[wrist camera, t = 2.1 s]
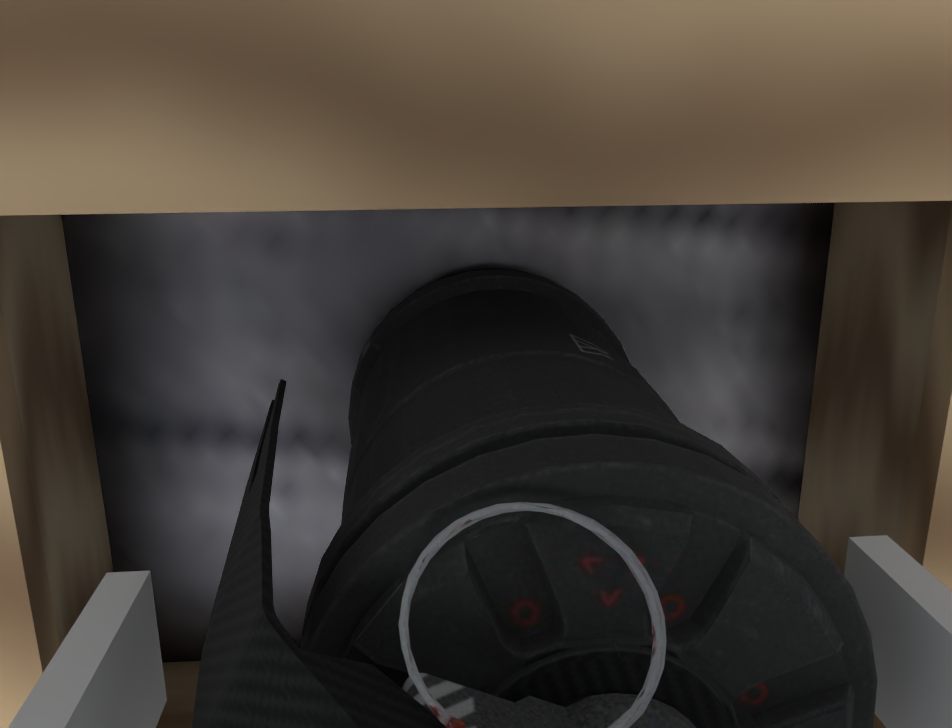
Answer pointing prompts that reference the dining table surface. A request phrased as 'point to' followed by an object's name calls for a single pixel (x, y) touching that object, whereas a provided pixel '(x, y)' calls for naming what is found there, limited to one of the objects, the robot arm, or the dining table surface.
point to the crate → (477, 205)
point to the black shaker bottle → (532, 550)
